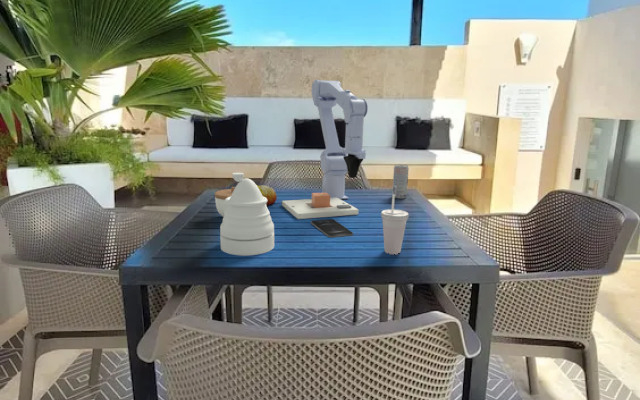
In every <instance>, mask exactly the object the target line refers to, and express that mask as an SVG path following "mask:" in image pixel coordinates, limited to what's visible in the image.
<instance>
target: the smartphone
mask: <svg viewBox="0 0 640 400" xmlns="http://www.w3.org/2000/svg"><path fill="white" fill-rule="evenodd" d="M310 224H311V225H312V226H313V227H315V228H316V229H317V230H318V231H320V232H321V233H323V234H324V235H325V236H326V237H328V238H331V239H332V238H341V237H342V238H343V237H351V236H354V232H353V231H351V230H350V229H348V228H346V227H345V226H344V225H343V224H341V223H340V222H338V221H337V220H335V219H332V218H328V219H316V220H311V221H310Z"/></svg>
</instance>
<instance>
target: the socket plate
mask: <svg viewBox="0 0 640 400" xmlns="http://www.w3.org/2000/svg"><path fill="white" fill-rule="evenodd" d="M281 206H282V207H283V208H284V209H286V210H287V211H288V212H289V214H291V215H292V216H294V217H295V218H296V219H297V220H304V219H316V218H318V219H319V218H328V217H331V218H332V217H340V216H341V217H342V216H343V217H344V216H355V215H356V216H357V215H359V211H360V210H359V209H358V208H357V207H355V206H353V205H352V204H350V203H347V202H346V201H344V200H343V199H339V198H337V197H336V198H330V207H324V208H314V207H313V206H312V198H307V199H306V198H305V199H304V198H303V199H292V200H290V199H289V200H282V201H281Z"/></svg>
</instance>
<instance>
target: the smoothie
mask: <svg viewBox="0 0 640 400" xmlns="http://www.w3.org/2000/svg"><path fill="white" fill-rule="evenodd" d="M391 195H392V196H391V209H384V210H382V211H381V214H380V218H382V231H383V234H382V235H383V247H384V252H385V253H386V254H388V253H389V254H388V255H394V254H395V255H399V254H398V253H400V254H401V250H402V246H403V240H404V236H405V230H406V226H407V221H408V219H410V218H409V212H407V211H405V210H401V209H395V199H396V198H395V194H391Z"/></svg>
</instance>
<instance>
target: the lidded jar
mask: <svg viewBox="0 0 640 400" xmlns="http://www.w3.org/2000/svg"><path fill="white" fill-rule="evenodd" d="M235 187H236V186H230V188H228V189H227V188H225V189H221V190H217V191H215V192H214V198H215V207H216V210H217V212H218V214H220V216H221V217H223V218H224V212H225V211H226V208H227V204H226V203H225V199H226V198H228V197H230V196H231V195H232V193H233V191H234V189H235ZM223 218H222V219H223Z"/></svg>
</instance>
